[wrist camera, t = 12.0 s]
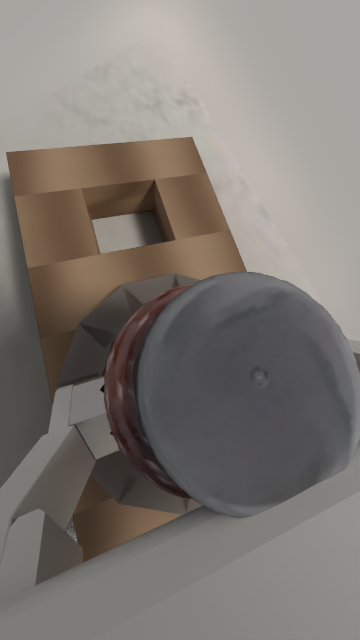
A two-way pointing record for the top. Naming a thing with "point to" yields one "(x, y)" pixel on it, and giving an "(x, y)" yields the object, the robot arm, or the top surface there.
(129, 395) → the supplement bottle
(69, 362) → the bore board
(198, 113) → the top surface
